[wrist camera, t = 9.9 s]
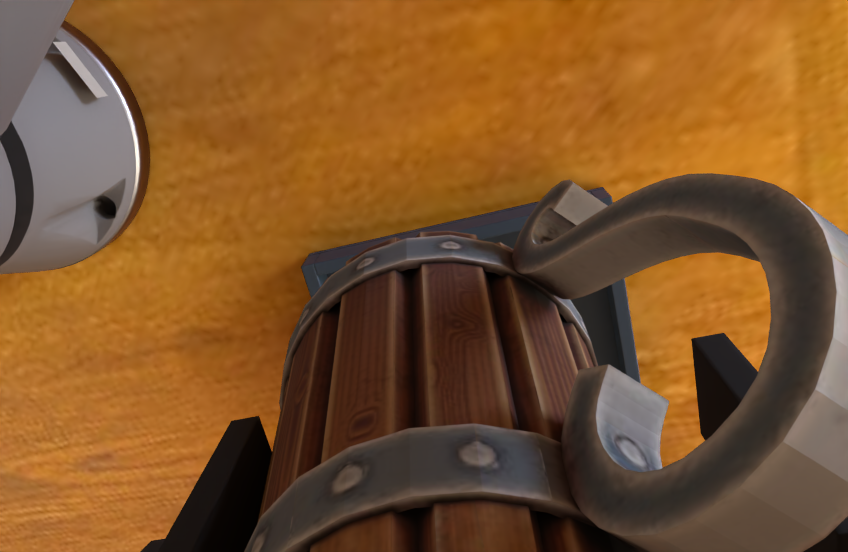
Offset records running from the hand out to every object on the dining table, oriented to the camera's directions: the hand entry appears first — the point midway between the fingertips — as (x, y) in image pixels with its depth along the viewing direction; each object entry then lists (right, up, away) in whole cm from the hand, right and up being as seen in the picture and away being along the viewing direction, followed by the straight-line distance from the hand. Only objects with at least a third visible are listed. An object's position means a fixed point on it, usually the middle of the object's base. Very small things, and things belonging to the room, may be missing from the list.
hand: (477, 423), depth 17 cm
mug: (+1, +3, +7) cm, 7 cm away
